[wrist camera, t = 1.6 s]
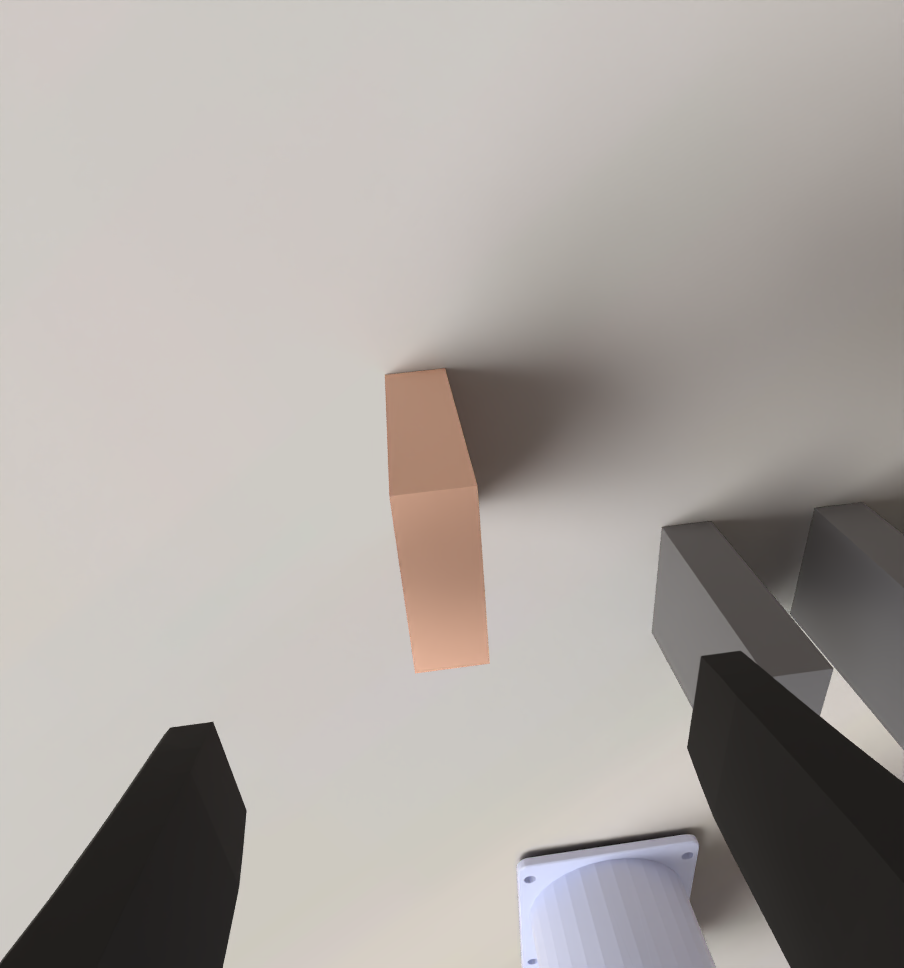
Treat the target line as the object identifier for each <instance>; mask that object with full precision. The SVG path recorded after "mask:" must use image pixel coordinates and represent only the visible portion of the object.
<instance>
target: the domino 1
mask: <svg viewBox="0 0 904 968" xmlns="http://www.w3.org/2000/svg"><path fill="white" fill-rule="evenodd" d="M385 390H386V417H387V444H388V470H389V496H390V503H391V510H392V517H393V524H394V531H395V538H396V544H397V551H398V558H399V565H400V572H401V579H402V586H403V592H404V599H405V606H406V613H407V620H408V627H409V634H410V640H411V647H412V654H413V661H414V668H415V673H421V672H429V671H437V670H444V669H452V668H459V667H467V666H474V665H482V664H489V663H490V662H489V647H488V633H487V618H486V603H485V589H484V574H483V559H482V544H481V530H480V515H479V500H478V486H477V482H476V478H475V475H474V471H473V468H472V464H471V460H470V457H469V453H468V450H467V446H466V442H465V439H464V435H463V432H462V428H461V424H460V421H459V417H458V414H457V410H456V406H455V403H454V399H453V395H452V392H451V388H450V385H449V381H448V377H447V374H446V370H445V368H443V369H433V370H424V371H415V372H406V373H397V374H388V375H385Z"/></svg>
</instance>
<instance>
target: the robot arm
mask: <svg viewBox="0 0 904 968" xmlns="http://www.w3.org/2000/svg"><path fill="white" fill-rule="evenodd" d="M687 749H688V751H689V754H690V757H691V760H692V762H693V765H694V768H695V770H696V773H697V776H698V779H699V781H700V784H701V787H702V789H703V792H704V794H705V797H706V799H707V802H708V804H709V807H710V809H711V812H712V814H713V817H714V819H715V821H716V823H717V825H718V827H719V829H720V831H721V833H722V835H723V837H724V839H725V841H726V843H727V845H728V847H729V849H730V851H731V853H732V855H733V857H734V859H735V861H736V862H737V864H738V866H739V868H740V870H741V872H742V874H743V876H744V878H745V880H746V882H747V884H748V886H749V888H750V890H751V892H752V894H753V896H754V898H755V899H756V901H757V903H758V905H759V907H760V909H761V911H762V913H763V915H764V917H765V919H766V921H767V923H768V925H769V927H770V929H771V930H772V932H773V934H774V936H775V938H776V940H777V942H778V944H779V946H780V948H781V950H782V952H783V954H784V956H785V958H786V960H787V961H788V963H789V965H790V967H791V968H904V783H903V782H902V781H901V780H899V779H898V778H897V777H895V776H894V775H893V774H892V773H890V772H889V771H888V770H887V769H885V768H884V767H883V766H881V765H880V764H879V763H878V762H876V761H875V760H874V759H873V758H871V757H870V756H869V755H867V754H866V753H865V752H864V751H862V750H861V749H860V748H859V747H857V746H856V745H855V744H853V743H852V742H851V741H850V740H848V739H847V738H846V737H845V736H843V735H842V734H841V733H840V732H839V731H837V730H836V729H835V728H834V727H832V726H831V725H830V724H829V723H827V722H826V721H825V720H824V719H823V718H821V717H820V716H819V715H818V714H817V713H815V712H814V711H813V710H812V709H810V708H809V707H808V706H807V705H806V704H804V703H803V702H802V701H801V700H800V699H798V698H797V697H796V696H795V695H794V694H792V693H791V692H790V691H789V690H788V689H786V688H785V687H784V686H783V685H782V684H780V683H779V682H778V681H777V680H776V679H774V678H773V677H772V676H771V675H770V674H768V673H767V672H766V671H765V670H764V669H762V668H761V667H760V666H759V665H758V664H756V663H755V662H754V661H753V660H752V659H750V658H749V657H748V656H747V655H746V654H744V653H743V652H742V651H733V652H726V653H719V654H711V655H704V656H701V659H700V666H699V672H698V679H697V686H696V692H695V699H694V706H693V713H692V719H691V726H690V733H689V739H688V746H687ZM245 822H246V808H245V805H244V803H243V800H242V797H241V795H240V792H239V789H238V787H237V784H236V781H235V779H234V776H233V774H232V771H231V768H230V766H229V763H228V760H227V758H226V755H225V752H224V750H223V747H222V744H221V742H220V739H219V736H218V734H217V731H216V728H215V726H214V723H213V722H209V723H201V724H194V725H186V726H179V727H172V728H170V729H169V730H168V731H167V732H166V733H165V734H164V736H163V737H162V739H161V740H160V742H159V743H158V745H157V746H156V748H155V749H154V751H153V752H152V754H151V755H150V756H149V758H148V759H147V761H146V762H145V764H144V765H143V767H142V768H141V770H140V771H139V773H138V774H137V776H136V777H135V779H134V780H133V782H132V783H131V785H130V786H129V787H128V789H127V790H126V792H125V793H124V795H123V796H122V798H121V799H120V801H119V802H118V804H117V805H116V806H115V808H114V809H113V811H112V812H111V814H110V815H109V817H108V818H107V819H106V821H105V822H104V824H103V825H102V827H101V828H100V829H99V831H98V832H97V834H96V835H95V836H94V838H93V839H92V841H91V842H90V843H89V845H88V846H87V848H86V849H85V850H84V852H83V853H82V855H81V856H80V857H79V859H78V860H77V861H76V863H75V864H74V866H73V867H72V868H71V870H70V871H69V873H68V874H67V875H66V877H65V878H64V880H63V881H62V882H61V884H60V885H59V886H58V888H57V889H56V890H55V892H54V893H53V895H52V896H51V897H50V899H49V900H48V901H47V903H46V904H45V905H44V906H43V908H42V909H41V910H40V912H39V913H38V914H37V915H36V917H35V918H34V919H33V921H32V922H31V923H30V925H29V926H28V927H27V928H26V930H25V931H24V932H23V934H22V935H21V936H20V937H19V939H18V940H17V941H16V943H15V944H14V945H13V946H12V948H11V949H10V950H9V952H8V953H7V954H6V955H5V957H4V958H3V959H2V961H1V962H0V968H223V963H224V958H225V954H226V949H227V944H228V939H229V934H230V929H231V924H232V920H233V915H234V910H235V905H236V900H237V895H238V889H239V883H240V873H241V864H242V855H243V844H244V833H245ZM698 850H699V843H698V841H697V839H696V837H695V836H694V835H691V834H684V835H677V836H670V837H664V838H657V839H650V840H644V841H637V842H630V843H624V844H617V845H610V846H603V847H597V848H590V849H583V850H577V851H570V852H563V853H556V854H550V855H543V856H536V857H530V858H525V859H523V860H521V861H520V862H519V863H518V864H517V883H518V903H519V922H520V942H521V962H522V968H716V966H715V963H714V961H713V958H712V956H711V953H710V951H709V948H708V946H707V943H706V941H705V939H704V936H703V934H702V931H701V929H700V926H699V924H698V921H697V919H696V916H695V914H694V911H693V909H692V906H691V904H690V901H689V900H690V894H691V889H692V883H693V878H694V872H695V867H696V861H697V856H698Z"/></svg>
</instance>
